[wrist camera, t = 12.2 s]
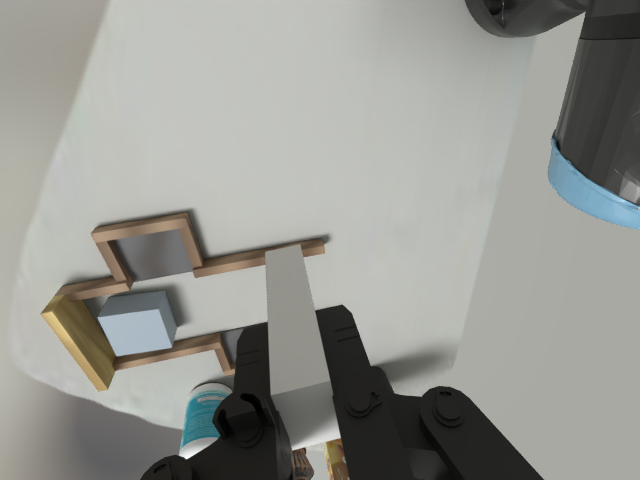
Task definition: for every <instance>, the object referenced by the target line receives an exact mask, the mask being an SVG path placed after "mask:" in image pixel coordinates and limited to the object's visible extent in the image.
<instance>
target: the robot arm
mask: <svg viewBox="0 0 640 480" xmlns="http://www.w3.org/2000/svg"><path fill="white" fill-rule="evenodd" d="M465 2H466V5H467V7H468V9H469V11H470V13H471V15H472V17H473V18H474V20H475V21H476V22H477V23H478V24H479V25H480V26H481V27H482V28H483V29H484V30H486V31H487V32H489V33H491V34H493V35H496V36H499V37H505V38H514V37H528V36H533V35H537V34H540V33H543V32H546V31H548V30H550V29H552V28H554V27H556V26H558V25H560V24H562V23H564V22H566V21H568V20H570V19H572V18H574V17H576V16H578V15H580V14H582V13H583V12H586V13H585V19H584V22H583V27H582V30H581V35H580V38H579V40H578V45H577V49H576V53H575V57H574V61H573V65H572V69H571V73H570V77H569V81H568V85H567V89H566V93H565V97H564V101H563V105H562V109H561V112H560V116H559V120H558V123H557V127H556V129H555V130H554V132H553V135H552V138H551V145H552V151H551V157H550V162H549V167H548V178H549V182H550V184H551V185H552V187H553V188H554V189H555V190H556V191H557V193H558V195H559V196H560V197H561V198H562V199H564V200H565V201H566V202H567V203H569V204H570V205H572V206H574V207H575V208H577V209H579V210H580V211H582V212H584V213H587V214H589V215H591V216H594V217H596V218H599V219H601V220H604V221H607V222H610V223H613V224H616V225H620V226H624V227H628V228H633V229H638V230H640V0H465ZM265 262H266V287H267V313H268V323H266V324H261V325H257V326H253V327H249V328H244V329H243V331H242V333H241V335H240V337H239V339H238V341H237V349H236V364H235V367H236V369H235V378H234V392H233V393H231V394H230V395H228V396H227V397H226V398H225V399H223V400H222V401H221V403H220V404H219V406H218V407H217V409H216V410H215V412H214V416H213V419H212V423H213V424H214V426H215V428H216V429H217V431H218V433H219V434H220V437H219V438H218V439H217V440H216V441H215V442H213V443H212V444H211V445H209V446H208V447H206V448H205V449H203V450H201V451H200V452H198V453H196V454H195V455H193V456H191V457H190V458H188V459H185V458H184V457H181V456H178V455H173V456H169V457H164V458H163V459H161V460H159V461H158V462H156V463H154V464H153V465H152V466H151V467H150V468H149V469H148V470H147V471H146V472H145V473H144V474H143V476H142V478H141V479H140V480H296V475H295V471H294V467H293V464H292V462H291V450H290V445H291V448H292V450H296V449H300V448H304V447H308V446H312V445H315V444H319V443H323V442H327V441H331V440H335V439H338V438H341V441H342V446H343V451H344V455H345V460H346V465H347V470H348V474H349V479H350V480H415V478H419V479H426V480H544V479H543V478H542V477H541V476H540V475H539V474H538V473H537V472H536V471H535V469H534V468H533V467H532V466H531V465H530V464H529V463H528V462H527V461H526V460H525V459H524V457H523V456H522V455H521V454H520V453H519V452H518V451H517V450H516V449H515V448H514V446H513V445H512V444H511V443H510V442H509V441H508V440H507V439H506V438H505V437H504V436H503V434H502V433H501V432H500V431H499V430H498V429H497V428H496V427H495V426H494V425H493V423H492V422H491V421H490V420H489V419H488V418H487V417H486V416H485V415H484V414H483V413H482V412H481V411H480V409H479V408H478V407H477V406H476V405H475V404H474V403H473V402H472V401H471V399H470V398H468V397H467V396H466V395H465V394H463V393H462V392H461V391H459V390H456V389H454V388H451V387H444V386H438V387H435V388H432V389H429V390H428V391H427V392H426V393H425V394H424V395H423V396H422V397H417V396H405V395H399V394H395V393H392V392H390V391H388V390H386V389H385V388H384V387H382V386H381V385H380V384H379V382H378V381H377V380H376V378H375V376H374V374H373V371H372V368H371V366H370V363H369V360H368V357H367V354H366V352H365V349H364V346H363V343H362V340H361V338H360V335H359V332H358V329H357V327H356V324H355V321H354V318H353V315H352V313H351V312H350V311H349V310H348V309H347V308H346V307H345V306H343V305H339V306H334V307H330V308H326V309H322V310H317V311H315V309H314V304H313V300H312V295H311V291H310V286H309V282H308V277H307V272H306V268H305V263H304V259H303V254H302V250H301V245H300V244H298V245H294V246H289V247H285V248H280V249H276V250H271V251H267V252H265Z"/></svg>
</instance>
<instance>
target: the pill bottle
mask: <svg viewBox="0 0 640 480" xmlns="http://www.w3.org/2000/svg"><path fill="white" fill-rule="evenodd" d="M231 393H232V391H231V389H230V388H228V387H227V386H225V385H223V384H218V383H209V384H204V385H201V386H199V387H197V388H196V389H194V390H193V391H192V392H191V394H190V395H189V398H188V403H187V409H186V415H185V422H184V428H183V434H182V441H181V447H180V453H179V456H181V457H184V458H185V459H188V458H190V457H191V456H193V455H195V454H196V453H198V452H200V451H201V450H203V449H205V448H206V447H208V446H209V445H211V444H212V443H213V442H215V441H216V440H217V439H218V438H219V437H220V434H219V433H218V431H217V429H216V428H215V426H214V424H213V423H212V419H213V416H214V412H215V410H216V409H217V407H218V406H219V404H220V403H221V401H222V400H223V399H225V398H226V397H227V396H228V395H230V394H231Z"/></svg>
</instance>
